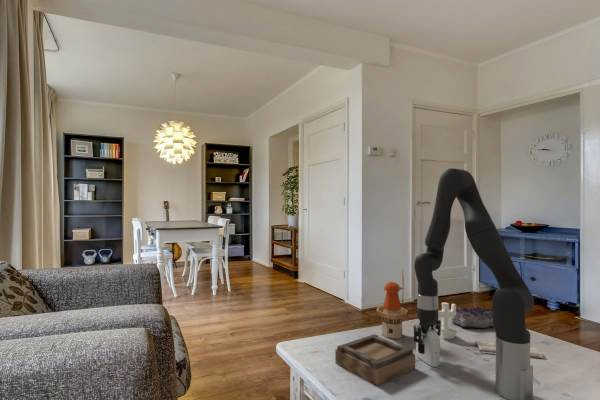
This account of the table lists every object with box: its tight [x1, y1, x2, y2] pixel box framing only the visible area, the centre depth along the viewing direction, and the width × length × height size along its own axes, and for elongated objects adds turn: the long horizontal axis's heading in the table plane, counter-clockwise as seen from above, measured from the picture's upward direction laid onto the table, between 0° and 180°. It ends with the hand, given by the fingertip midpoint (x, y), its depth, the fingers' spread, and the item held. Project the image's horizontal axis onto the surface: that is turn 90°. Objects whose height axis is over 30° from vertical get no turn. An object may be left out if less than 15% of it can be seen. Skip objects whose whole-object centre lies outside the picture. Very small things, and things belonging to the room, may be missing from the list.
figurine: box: [436, 302, 459, 340], centre depth 156 cm, size 7×9×15 cm
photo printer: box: [415, 329, 441, 368], centre depth 132 cm, size 10×4×12 cm, turn 17°
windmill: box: [376, 268, 409, 340], centre depth 156 cm, size 17×14×30 cm
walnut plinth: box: [334, 333, 416, 387], centre depth 128 cm, size 20×20×6 cm
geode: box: [451, 306, 494, 330], centre depth 170 cm, size 20×12×10 cm, turn 90°
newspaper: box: [474, 340, 544, 359], centre depth 142 cm, size 23×12×2 cm, turn 72°
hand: (427, 350), depth 132 cm, fingers open, 7 cm apart
